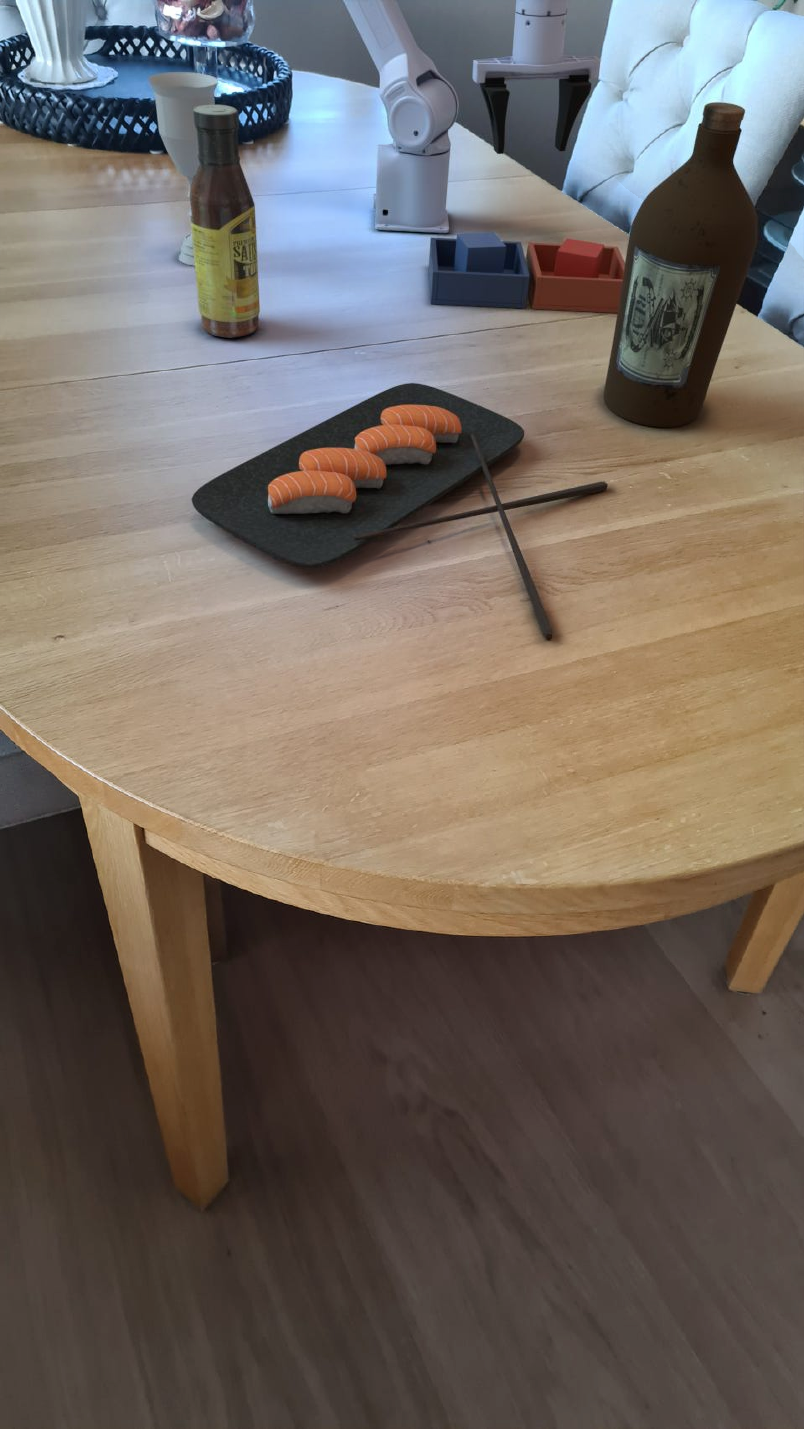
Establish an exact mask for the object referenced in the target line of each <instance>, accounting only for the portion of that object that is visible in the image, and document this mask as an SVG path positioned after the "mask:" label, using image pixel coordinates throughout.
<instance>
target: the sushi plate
mask: <svg viewBox="0 0 804 1429" xmlns="http://www.w3.org/2000/svg"><path fill="white" fill-rule="evenodd" d="M524 437H525V430H524V429H523V427H522V426H521V425H519V424H518V423H517V422H515V421H514V420H512V419H511V418H508V417H506V416H504V415H502V414H500V413H498V412H496V411H493V410H491V409H488V408H486V407H483V406H482V405H480V404H477V403H474V402H472V401H470V400H468V399H465V398H462V397H460V396H458V395H455V394H453V393H450V392H447V391H445V390H442V389H439V388H437V387H434V386H431V385H428V384H424V383H423V384H422V383H416V382H408V383H401V384H399V385H395V386H393V387H390V388H387V389H386V390H382V391H381V392H378V393H377V394H375V395H373V396H371V397H368V398H367V399H365V400H362V401H360V402H359V403H356V404H355V405H353V406H351V407H349V408H348V409H345V410H343V411H341V412H340V413H338V414H335V415H333V416H332V417H329V418H327V419H326V420H324V421H322V422H320V423H318V424H316V425H314V426H312V427H310V428H307V430H304V431H303V432H300V433H299V434H297V435H295V436H292V437H291V438H289V439H287V440H285V441H283V442H281V443H279V444H277V445H275V446H273V447H272V448H270V449H268V450H265V451H264V452H262V453H260V454H257V455H256V456H254V457H252V458H250V459H248V460H246V461H244V462H243V463H241V464H239V465H236V466H235V467H233V468H231V469H228V470H227V471H225V472H223V473H221V474H220V475H218V476H216V477H214V478H213V479H211V480H209V481H208V482H206V483H205V484H203V485H202V486H200V487H199V488H198V489H197V490H195V492H193V494H192V497H191V503H192V506H193V508H194V509H195V510H196V512H198V513H199V514H200V516H202V517H203V518H205V519H206V520H207V521H209V522H210V523H211V524H213V525H215V526H217V527H218V528H220V529H221V530H223V531H225V532H226V533H229V534H230V535H232V536H234V537H236V538H237V539H239V540H241V541H242V542H245V543H246V544H249V545H250V546H251V547H253V548H255V549H256V550H259V551H261V552H263V553H265V554H267V555H268V556H270V557H271V558H274V559H276V560H278V561H280V562H283V563H284V564H287V565H290V566H293V567H297V568H301V569H307V570H308V569H309V570H314V569H321V568H324V567H328V566H331V565H334V564H336V563H338V562H340V561H341V560H343V559H345V558H347V557H349V556H350V555H352V554H354V553H356V552H358V551H359V550H361V549H362V548H364V547H365V546H368V545H369V544H370V543H372V542H374V541H375V540H376V539H378V538H379V537H381V536H385V535H389V534H395V533H399V532H403V531H409V530H414V529H419V528H424V527H428V526H433V525H438V524H442V523H448V522H452V521H457V520H463V519H467V518H473V517H477V516H482V515H486V514H487V515H488V514H492V513H498V514H499V517H500V519H501V522H502V526H503V528H504V530H505V533H506V536H507V539H508V542H509V544H510V547H511V551H512V553H513V556H514V559H515V562H516V564H517V565H516V566H517V567H518V570H519V574H520V576H521V578H522V582H523V584H524V588H525V590H526V592H527V595H528V598H529V601H530V604H531V606H532V609H533V612H534V615H535V617H536V620H537V624H538V626H539V628H540V631H541V633H542V636H543V638H545V640H547V639H552V638H553V634H554V632H553V628H552V626H551V623H550V622H551V621H550V620H549V618H548V615H547V612H546V609H545V607H544V605H543V602H542V600H541V597H540V595H539V593H538V590H537V588H536V585H535V582H534V580H533V577H532V575H531V573H530V570H529V567H528V565H527V563H526V561H525V558H524V555H523V552H522V551H521V549H520V546H519V543H518V541H517V539H516V536H515V533H514V531H513V529H512V526H511V524H510V521H509V519H508V516H507V514H506V511H508V510H514V509H519V508H524V507H529V506H535V505H541V504H545V503H549V502H555V501H560V500H566V499H571V498H575V497H580V496H585V495H590V494H594V493H599V492H604V491H606V490H607V489H608V486H609V484H608V483H607V482H605V481H598V482H594V483H588V484H584V485H580V486H574V487H570V488H566V489H561V490H557V491H552V492H548V493H544V494H538V495H535V496H529V497H526V498H522V499H517V500H513V501H508V502H503V503H502V501H501V499H500V496H499V494H498V491H497V488H496V486H495V483H494V481H493V479H492V476H491V474H490V470H489V466H491V465H493V464H494V463H495V462H497V461H499V460H500V459H502V458H503V457H504V456H506V455H507V454H509V453H510V452H512V451H513V450H514V449H515V448H517V447H518V446H519V445H520V444H521V442H522V441H523V440H524ZM482 471H483V473H484V476H485V479H486V481H487V484H488V487H489V490H490V493H491V495H492V498H493V500H494V502H495V503H494V504H495V505H491V506H487V507H483V508H477V509H474V510H473V509H472V510H469V511H465V512H460V513H454V514H450V515H446V516H445V515H444V516H442V517H436V518H432V519H426V520H422V521H418V522H414V523H409V524H404V525H400V524H401V523H403V522H405V521H406V520H408V519H409V518H410V517H412V516H414V515H415V514H416V513H419V512H420V511H422V510H423V509H424V508H426V507H427V506H430V505H431V504H432V503H433V502H434V503H435V501H437V500H438V499H440V498H441V497H443V496H445V495H446V494H448V493H449V492H451V491H452V490H454V489H455V488H457V487H458V486H460V485H462V484H464V483H465V482H466V481H468V480H469V479H471V478H473V477H475V475H477V474H478V473H481V472H482ZM398 525H400V526H398Z"/></svg>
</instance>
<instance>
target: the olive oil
mask: <svg viewBox="0 0 804 1429" xmlns="http://www.w3.org/2000/svg"><path fill="white" fill-rule="evenodd" d="M745 114H746V109H745V108H744V107H742V106H740V105H738V104H734V103H731V102H730V103H729V102H721V101H720V102H719V101H718V102H716V101H715V102H709V103H706V104H705V105H704V107H703V111H702V118H701V119H702V120H701V122H700V123H699V124H698V126H697V131H696V135H695V140H694V145H693V150H692V153H691V155H690V157H689V158H688V159H687V160H686V161H685V162H684V163H683V164H682V165H681V166H680V167H678V168H676V170H675V171H674V172H673V173H671V174H669V176H668V177H666V178H665V179H664V180H663V181H662V182H660V183H659V184H658V185H657V186H656V187H654V188H653V189H652V190H651V191H650V192H649V193H648V194H647V196H646V197H645V198H644V200H643V201H642V203H641V204H640V205H639V206H640V207H639V208H638V210H637V212H636V214H635V216H634V218H633V221H632V224H631V227H630V230H629V236H628V242H627V249H626V255H625V260H624V262H625V268H624V275H623V281H622V288H621V294H620V301H619V307H618V313H616V320H615V327H614V331H613V338H612V345H611V350H610V356H609V361H608V367H607V373H606V378H605V384H604V389H603V401H604V404H605V405H606V406H607V408H608V409H609V410H610V411H611V412H612V413H613V414H615V415H617V416H619V417H620V418H622V419H624V420H626V421H629V422H632V423H635V424H638V425H643V426H647V427H655V428H674V427H681V426H684V425H687V424H690V423H692V422H693V421H695V420H696V419H697V418H698V417H699V416H700V414H701V411H702V408H703V406H704V403H705V400H706V397H707V395H708V391H709V387H710V384H711V382H712V378H713V376H714V375H713V374H714V371H715V368H716V365H717V362H718V359H719V356H720V354H721V351H722V348H723V344H724V342H725V338H726V335H727V333H728V330H729V327H730V324H731V320H732V319H733V316H734V313H735V310H736V307H737V304H738V300H739V298H740V295H741V292H742V289H743V286H744V284H745V281H746V278H747V276H748V272H749V269H750V267H751V264H752V261H753V258H754V256H755V252H756V249H757V242H758V232H759V231H758V230H759V227H758V226H759V225H758V214H757V211H756V210H757V209H756V207H755V205H754V203H753V200H752V198H751V196H750V194H749V193H748V190H747V189H746V187H745V185H744V183H743V181H742V179H741V177H740V175H739V173H738V171H737V169H736V167H735V164H734V160H735V155H736V152H737V149H738V145H739V141H740V137H741V135H742V128H741V125H742V121H743V120H744V118H745Z"/></svg>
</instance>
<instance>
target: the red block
mask: <svg viewBox="0 0 804 1429" xmlns="http://www.w3.org/2000/svg"><path fill="white" fill-rule="evenodd" d="M561 244H562V245H561V247H560V248H559V250H558V251H557V258H556V264H555V271H554V276H563V277H583V278H598V277H599V271H600V266H601V261H602V255H603V250H604V246H605V244H604V243H599V242H592V241H587V240H582V239H581V240H580V239H575V238H569V237H565V239H564V241H563V242H562V243H561Z"/></svg>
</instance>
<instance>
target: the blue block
mask: <svg viewBox="0 0 804 1429" xmlns="http://www.w3.org/2000/svg"><path fill="white" fill-rule="evenodd" d="M455 239H456V251H455V263H454V271H461V272H481V273H502V274H503V269H504V261H505V253H506V245H505V244H504V243H503V242H502V241H503V240H502V239H501V238H500V237H499V236H498V235H497V234H496V232H494V231H489V232H488V231H487V232H464V233H462V232H461V233H456V238H455Z"/></svg>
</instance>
